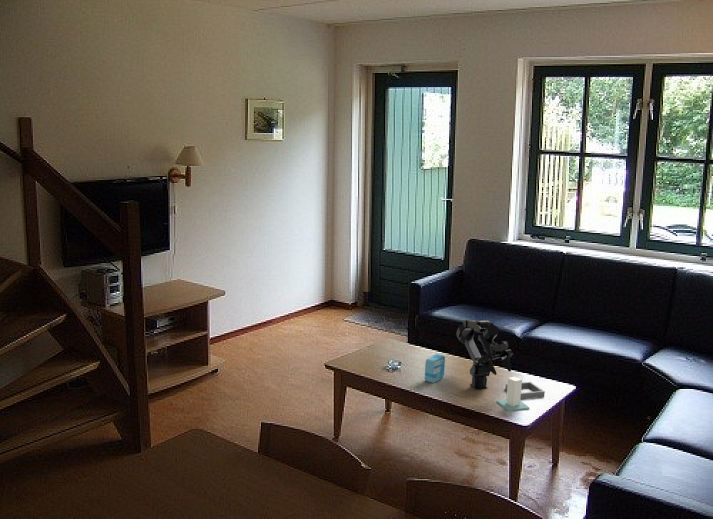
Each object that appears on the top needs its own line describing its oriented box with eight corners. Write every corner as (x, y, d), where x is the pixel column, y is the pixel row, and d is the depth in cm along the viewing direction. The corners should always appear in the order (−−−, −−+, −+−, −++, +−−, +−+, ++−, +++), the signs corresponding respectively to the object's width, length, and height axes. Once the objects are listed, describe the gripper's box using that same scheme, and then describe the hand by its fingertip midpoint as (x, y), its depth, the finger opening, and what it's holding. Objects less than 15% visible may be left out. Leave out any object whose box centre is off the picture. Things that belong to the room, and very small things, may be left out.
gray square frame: (518, 398, 335) (519, 394, 334) (505, 388, 347) (505, 384, 347) (544, 396, 339) (544, 391, 339) (530, 386, 351) (530, 381, 351)
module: (506, 403, 327) (508, 378, 325) (512, 401, 330) (515, 376, 327) (512, 406, 324) (515, 381, 321) (519, 404, 326) (522, 379, 323)
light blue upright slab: (431, 383, 350) (433, 361, 348) (424, 381, 353) (425, 359, 351) (444, 377, 360) (445, 355, 357) (436, 375, 362) (437, 353, 360)
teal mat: (508, 411, 320) (508, 409, 320) (496, 402, 330) (496, 400, 330) (529, 409, 323) (529, 407, 323) (517, 400, 334) (517, 398, 333)
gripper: (483, 338, 327) (498, 368, 320) (512, 333, 337) (527, 362, 330) (470, 350, 335) (485, 379, 328) (499, 344, 345) (513, 372, 338)
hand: (503, 373), depth 331 cm, fingers open, 9 cm apart
